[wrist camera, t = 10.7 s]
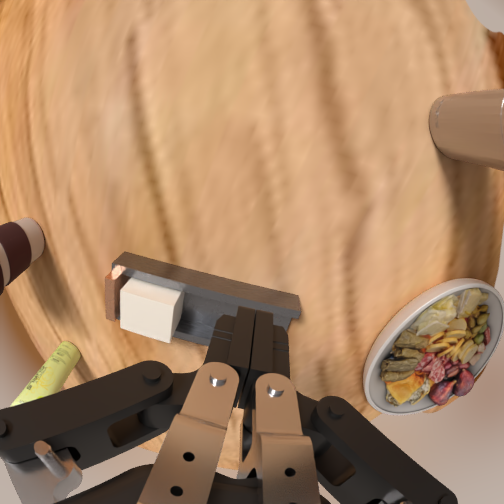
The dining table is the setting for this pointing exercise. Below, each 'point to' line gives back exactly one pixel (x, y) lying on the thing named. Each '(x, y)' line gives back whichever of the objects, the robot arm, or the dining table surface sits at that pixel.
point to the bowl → (434, 347)
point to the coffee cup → (18, 248)
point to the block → (150, 309)
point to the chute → (197, 295)
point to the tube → (51, 374)
